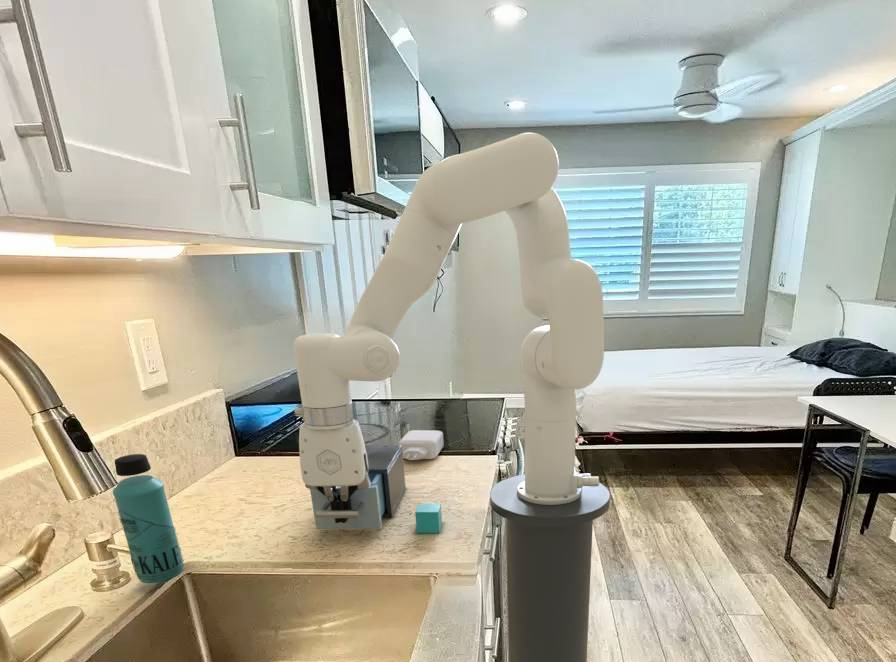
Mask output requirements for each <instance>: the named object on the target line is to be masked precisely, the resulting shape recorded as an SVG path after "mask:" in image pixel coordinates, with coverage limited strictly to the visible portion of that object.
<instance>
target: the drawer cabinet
mask: <svg viewBox="0 0 896 662" xmlns="http://www.w3.org/2000/svg"><path fill="white" fill-rule="evenodd" d="M365 448H366V453H367V459H368V467H369V472H368V473H383V475H384V484H385V494H386V504H387V508H386V510H385V512H384V513H383V515H382V517H381V519H382V518H383V519H384V518H385V519H387V518H388V519H389V518H390V519H392V518H393V517H394V514H395V513H396V510H397V508H398V506H399V504H400V502H401V499H402V497H403V496H404V493H405V491H406V488H407V487H406V477H405V466H404V459H403V454H402V445H398V444H396V445H395V444H392V445H389V444H388V445H387V444H386V445H385V444H384V445H365Z"/></svg>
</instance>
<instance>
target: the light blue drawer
mask: <svg viewBox="0 0 896 662" xmlns="http://www.w3.org/2000/svg"><path fill="white" fill-rule="evenodd" d="M368 476H369V479H370V482H371V484H370V486H369V487H368V488H365V489H361V490H356V491H355V492H354V493H353V494H352V495H351V496H350V500H351V508H352V510H331V505H330V501H328V500H327V498H326V496H324V495H323V494H322V493H321V492H320V491H318V490H313V489H309V492H310V499H311V503H312V505H311V506H312V510H313V511H312V512H313V516H314V517H313V519H314V523H315V529H316V530H317V531H320V530H322V531H323V530H324V531H325V530H326V531H327V530H381V529H382V526H383V524H382V518H381V517H382V515H383V513H384V512H385V510H386V508H387V504H386V494H385V484H384V475H383V473H368ZM337 489H338V493H339V495H341V486H337ZM335 518H348V520H347V521H346V523H342V522H340V523H336V522H335Z"/></svg>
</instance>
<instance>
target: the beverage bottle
mask: <svg viewBox="0 0 896 662" xmlns="http://www.w3.org/2000/svg"><path fill="white" fill-rule="evenodd" d="M114 466H115V472H116V475H117V476H120V477H127V478H123V479H122V480H120V481H119V482H117V484H118V485H117V484H116V485H117V487H116V486H115V487H116V488H115V487H114V488H113V489H112V495H113V496H114V500H115V503H116V507H117V511H118V512H117V514H118V516H119V522H120V525H121V527H122V530H123V534H124V537H125V540H126V542H127V543H126V544H127V548H128V551H129V555H130V557H129V558H130V561H131V564H132V568H133V570H134V575H136V578H137V579H138V580H139V582H141V583H143V584H158V583H159V584H160V583H163V582H167V581H169V580H172V579H174V578H176V577H178V576H179V575H180V574H182V572H183V571H184V568H185V567H184V566H185V564H184V558H183V554H182V550H181V547H180V543H179V538H178V534H177V532H176V527H175V526H174V523H173V518H172V514H171V511H170V507H169V503H168V499H167V494H166V490H165V486H164V485H165V484H164V482H163V481H162V480H161V479H159V478H157V477H155V476H153V475H150V474H144V473H147V472H148V471H150V470H151V469H152V467H151V464H150V463H149V459H148V457H147V455H146V454H142V453H135V454H127V455H123V456H120V457H117V458H116V459H114Z"/></svg>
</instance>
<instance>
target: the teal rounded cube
mask: <svg viewBox="0 0 896 662" xmlns="http://www.w3.org/2000/svg"><path fill="white" fill-rule="evenodd" d="M414 514H415V515H414V516H415V527H416V533H417V534H439V533H440V532H441V530H442V529H441V528H442V525H443V516H442V504H441V502H434V503H433V502H431V503H430V502H429V503H428V502H427V503H426V502H425V503H420V502H419V503H418V504H417V507H416V510H415V513H414Z"/></svg>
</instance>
